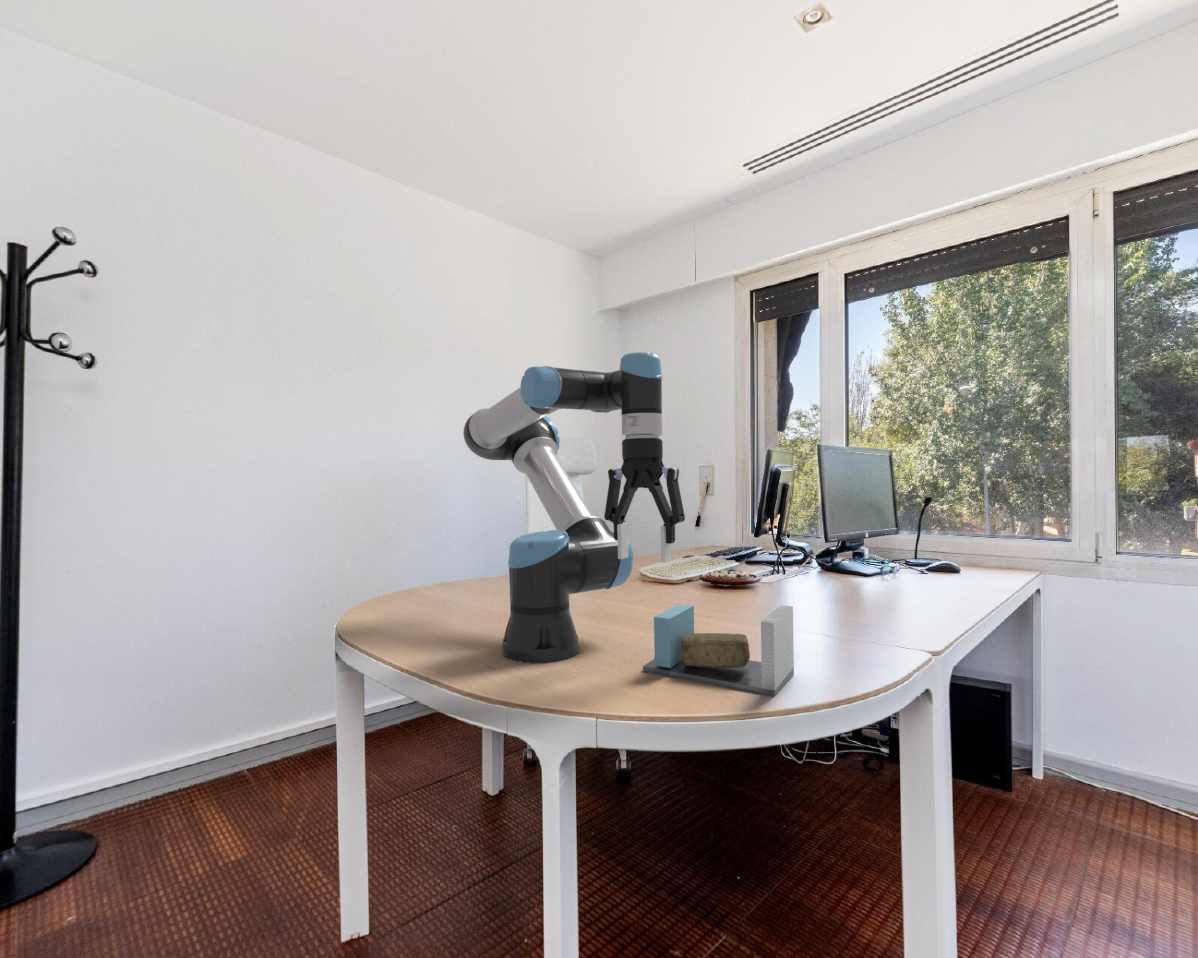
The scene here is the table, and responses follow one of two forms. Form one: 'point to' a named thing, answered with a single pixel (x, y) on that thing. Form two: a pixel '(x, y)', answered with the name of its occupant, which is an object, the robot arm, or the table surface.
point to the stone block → (715, 650)
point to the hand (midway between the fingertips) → (644, 559)
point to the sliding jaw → (672, 633)
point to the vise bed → (755, 674)
